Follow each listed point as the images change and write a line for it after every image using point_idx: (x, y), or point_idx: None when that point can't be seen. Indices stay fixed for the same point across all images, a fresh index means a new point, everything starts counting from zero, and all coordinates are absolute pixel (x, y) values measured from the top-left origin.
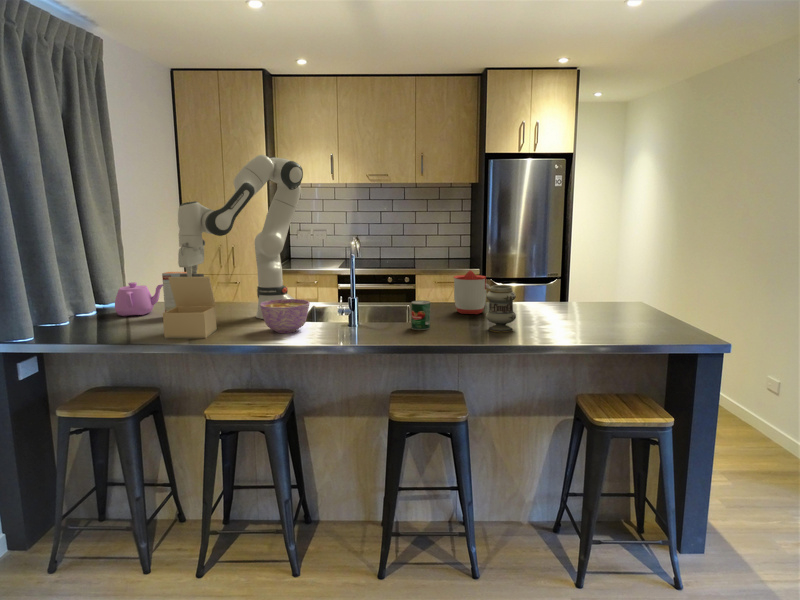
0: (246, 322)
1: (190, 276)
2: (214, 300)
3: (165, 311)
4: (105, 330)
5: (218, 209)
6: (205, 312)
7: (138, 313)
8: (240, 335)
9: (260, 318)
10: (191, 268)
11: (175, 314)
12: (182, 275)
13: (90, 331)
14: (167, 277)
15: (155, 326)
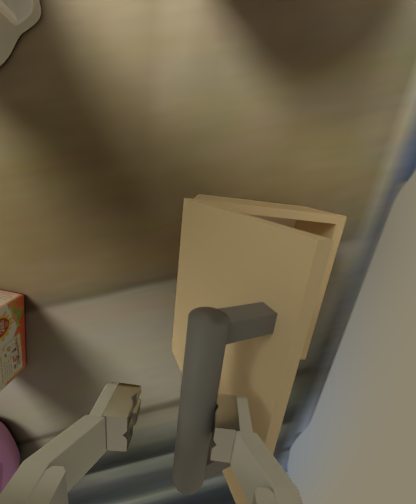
0: (77, 105)
1: (245, 408)
2: (197, 201)
3: (11, 380)
4: (166, 442)
5: None
6: (329, 214)
7: (6, 432)
8: (290, 95)
9: (12, 49)
10: (274, 495)
11: (313, 319)
12: (205, 468)
13: (173, 462)
14: None
15: (130, 363)
